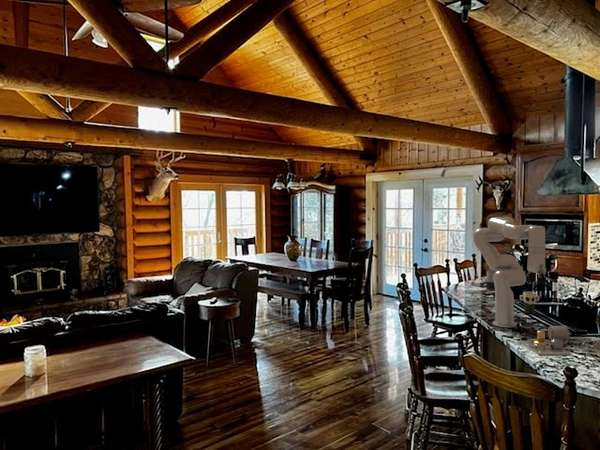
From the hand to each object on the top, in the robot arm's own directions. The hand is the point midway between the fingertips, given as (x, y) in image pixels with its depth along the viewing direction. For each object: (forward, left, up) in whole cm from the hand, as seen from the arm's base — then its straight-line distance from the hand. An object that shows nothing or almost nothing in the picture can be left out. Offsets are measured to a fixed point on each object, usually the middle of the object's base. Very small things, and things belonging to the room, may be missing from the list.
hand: (536, 283), depth 227 cm
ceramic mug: (+6, +9, -29) cm, 30 cm away
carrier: (+17, -4, -28) cm, 33 cm away
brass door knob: (+15, -5, -27) cm, 31 cm away
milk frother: (-133, +26, -29) cm, 139 cm away
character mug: (-51, +20, -28) cm, 62 cm away
